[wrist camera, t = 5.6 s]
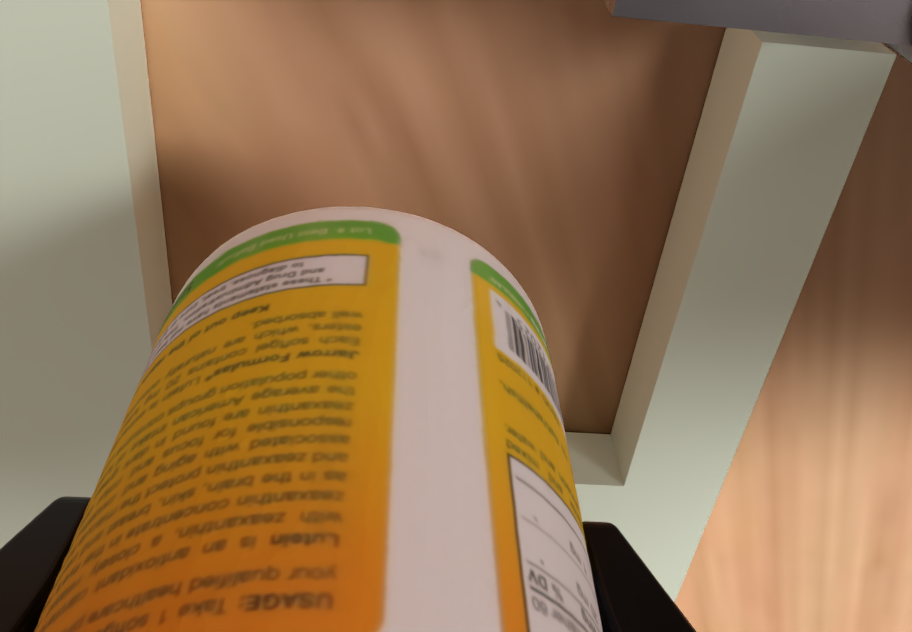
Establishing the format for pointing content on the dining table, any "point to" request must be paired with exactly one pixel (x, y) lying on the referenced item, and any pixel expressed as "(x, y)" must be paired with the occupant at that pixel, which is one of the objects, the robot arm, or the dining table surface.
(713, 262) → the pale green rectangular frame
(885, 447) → the dining table surface
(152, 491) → the supplement bottle
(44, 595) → the robot arm
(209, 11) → the dining table surface
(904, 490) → the dining table surface
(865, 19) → the door lever handle
